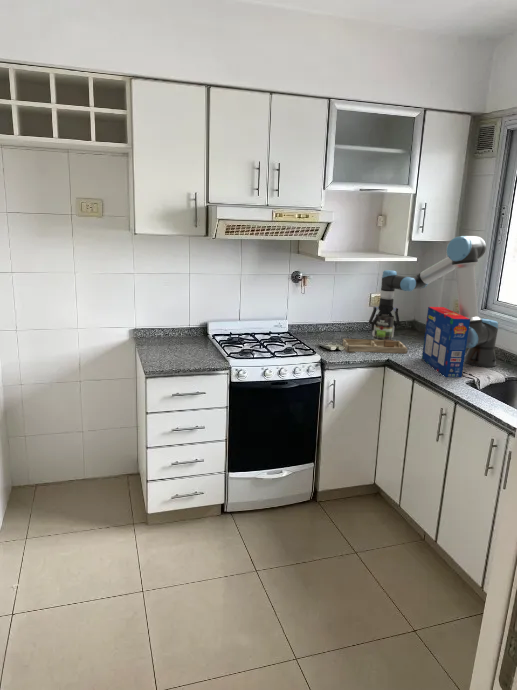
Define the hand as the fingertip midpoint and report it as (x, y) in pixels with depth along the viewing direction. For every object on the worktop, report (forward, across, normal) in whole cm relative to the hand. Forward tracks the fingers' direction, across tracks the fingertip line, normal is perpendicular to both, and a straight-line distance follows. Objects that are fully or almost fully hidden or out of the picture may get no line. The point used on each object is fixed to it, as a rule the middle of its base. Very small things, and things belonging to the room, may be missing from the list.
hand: (382, 336), depth 298 cm
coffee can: (+2, 0, 0) cm, 2 cm away
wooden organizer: (+4, +8, +15) cm, 17 cm away
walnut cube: (+3, 0, +15) cm, 15 cm away
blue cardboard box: (+4, -19, +45) cm, 49 cm away
